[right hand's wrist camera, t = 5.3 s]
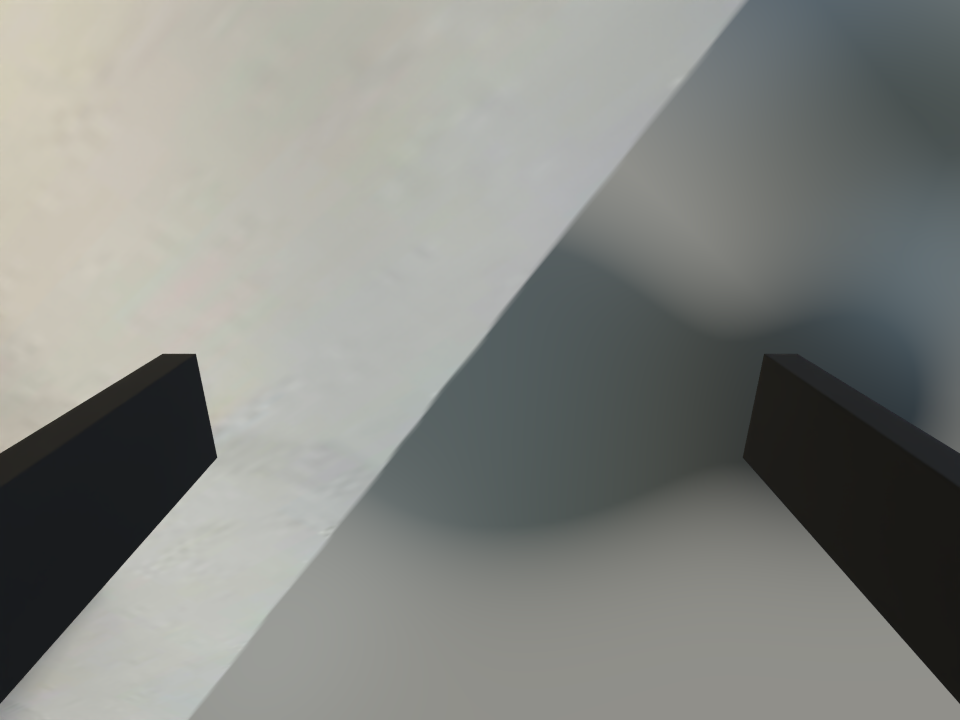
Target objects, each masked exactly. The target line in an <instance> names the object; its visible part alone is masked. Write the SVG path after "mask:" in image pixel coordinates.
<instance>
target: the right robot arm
mask: <svg viewBox="0 0 960 720" xmlns="http://www.w3.org/2000/svg"><path fill="white" fill-rule="evenodd" d="M216 458H217V454H216V449H215V444H214V440H213V435H212V430H211V425H210V420H209V415H208V411H207V406H206V401H205V396H204V391H203V386H202V382H201V377H200V372H199V367H198V362H197V357H196V354H162V355H160V356H158V357H157V358H155V359H154V360H152V361H150V362H149V363H147V364H145V365H144V366H142V367H140V368H139V369H137V370H136V371H134V372H132V373H131V374H129V375H127V376H126V377H124V378H123V379H121V380H119V381H118V382H116V383H114V384H113V385H111V386H110V387H108V388H106V389H105V390H103V391H101V392H100V393H98V394H96V395H95V396H93V397H92V398H90V399H88V400H87V401H85V402H83V403H82V404H80V405H79V406H77V407H75V408H74V409H72V410H70V411H69V412H67V413H65V414H64V415H62V416H61V417H59V418H57V419H56V420H54V421H52V422H51V423H49V424H48V425H46V426H44V427H43V428H41V429H39V430H38V431H36V432H34V433H33V434H31V435H30V436H28V437H26V438H25V439H23V440H21V441H20V442H18V443H17V444H15V445H13V446H12V447H10V448H8V449H7V450H5V451H4V452H2V453H0V703H1V702H2V701H3V700H4V699H5V698H6V697H7V695H8V694H9V693H10V692H11V691H12V690H13V689H14V687H15V686H16V685H17V684H18V683H19V682H20V681H21V680H22V678H23V677H24V676H25V675H26V674H27V673H28V672H29V670H30V669H31V668H32V667H33V666H34V665H35V664H36V663H37V661H38V660H39V659H40V658H41V657H42V656H43V655H44V653H45V652H46V651H47V650H48V649H49V648H50V647H51V645H52V644H53V643H54V642H55V641H56V640H57V639H58V638H59V636H60V635H61V634H62V633H63V632H64V631H65V630H66V628H67V627H68V626H69V625H70V624H71V623H72V622H73V621H74V619H75V618H76V617H77V616H78V615H79V614H80V613H81V611H82V610H83V609H84V608H85V607H86V606H87V605H88V604H89V602H90V601H91V600H92V599H93V598H94V597H95V596H96V594H97V593H98V592H99V591H100V590H101V589H102V588H103V586H104V585H105V584H106V583H107V582H108V581H109V580H110V579H111V577H112V576H113V575H114V574H115V573H116V572H117V571H118V569H119V568H120V567H121V566H122V565H123V564H124V563H125V562H126V560H127V559H128V558H129V557H130V556H131V555H132V554H133V552H134V551H135V550H136V549H137V548H138V547H139V546H140V545H141V543H142V542H143V541H144V540H145V539H146V538H147V537H148V535H149V534H150V533H151V532H152V531H153V530H154V529H155V527H156V526H157V525H158V524H159V523H160V522H161V521H162V520H163V518H164V517H165V516H166V515H167V514H168V513H169V512H170V510H171V509H172V508H173V507H174V506H175V505H176V504H177V503H178V501H179V500H180V499H181V498H182V497H183V496H184V495H185V493H186V492H187V491H188V490H189V489H190V488H191V487H192V486H193V484H194V483H195V482H196V481H197V480H198V479H199V478H200V476H201V475H202V474H203V473H204V472H205V471H206V470H207V468H208V467H209V466H210V465H211V464H212V463H213V462H214V461H215V459H216ZM743 458H744V459H745V461H746V462H747V463H748V464H749V465H750V466H751V467H752V468H753V470H754V471H755V472H756V473H757V474H758V475H759V476H760V478H761V479H762V480H763V481H764V482H765V483H766V484H767V485H768V487H769V488H770V489H771V490H772V491H773V492H774V493H775V495H776V496H777V497H778V498H779V499H780V500H781V501H782V502H783V504H784V505H785V506H786V507H787V508H788V509H789V510H790V512H791V513H792V514H793V515H794V516H795V517H796V518H797V520H798V521H799V522H800V523H801V524H802V525H803V526H804V527H805V529H806V530H807V531H808V532H809V533H810V534H811V535H812V537H813V538H814V539H815V540H816V541H817V542H818V543H819V544H820V546H821V547H822V548H823V549H824V550H825V551H826V552H827V554H828V555H829V556H830V557H831V558H832V559H833V560H834V561H835V563H836V564H837V565H838V566H839V567H840V568H841V569H842V571H843V572H844V573H845V574H846V575H847V576H848V577H849V579H850V580H851V581H852V582H853V583H854V584H855V585H856V586H857V588H858V589H859V590H860V591H861V592H862V593H863V594H864V596H865V597H866V598H867V599H868V600H869V601H870V602H871V603H872V605H873V606H874V607H875V608H876V609H877V610H878V611H879V613H880V614H881V615H882V616H883V617H884V618H885V619H886V621H887V622H888V623H889V624H890V625H891V626H892V627H893V628H894V630H895V631H896V632H897V633H898V634H899V635H900V636H901V638H902V639H903V640H904V641H905V642H906V643H907V644H908V645H909V647H910V648H911V649H912V650H913V651H914V652H915V653H916V655H917V656H918V657H919V658H920V659H921V660H922V661H923V662H924V664H925V665H926V666H927V667H928V668H929V669H930V670H931V672H932V673H933V674H934V675H935V676H936V677H937V678H938V680H939V681H940V682H941V683H942V684H943V685H944V686H945V687H946V689H947V690H948V691H949V692H950V693H951V694H952V695H953V696H954V698H955V699H956V700H957V701H958V702H959V703H960V453H958V452H956V451H955V450H953V449H952V448H950V447H948V446H947V445H945V444H943V443H942V442H940V441H938V440H937V439H935V438H934V437H932V436H930V435H929V434H927V433H925V432H924V431H922V430H921V429H919V428H917V427H916V426H914V425H912V424H911V423H909V422H908V421H906V420H904V419H903V418H901V417H899V416H898V415H896V414H895V413H893V412H891V411H890V410H888V409H886V408H885V407H883V406H881V405H880V404H878V403H877V402H875V401H873V400H872V399H870V398H868V397H867V396H865V395H864V394H862V393H860V392H859V391H857V390H855V389H854V388H852V387H850V386H849V385H847V384H846V383H844V382H842V381H841V380H839V379H837V378H836V377H834V376H832V375H831V374H829V373H828V372H826V371H824V370H823V369H821V368H820V367H818V366H816V365H815V364H813V363H811V362H810V361H808V360H806V359H805V358H803V357H802V356H800V355H798V354H764V357H763V362H762V367H761V372H760V377H759V382H758V386H757V391H756V396H755V401H754V406H753V411H752V416H751V420H750V425H749V430H748V435H747V440H746V444H745V449H744V454H743Z"/></svg>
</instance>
